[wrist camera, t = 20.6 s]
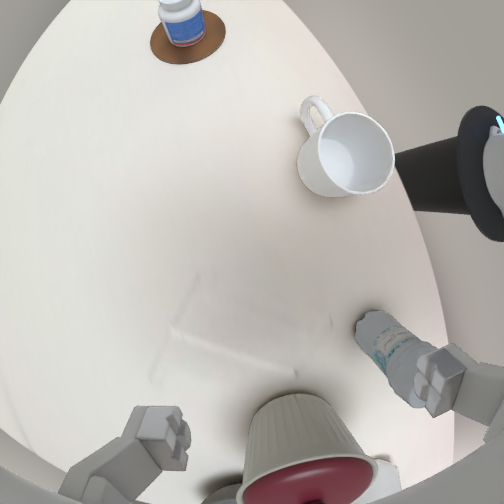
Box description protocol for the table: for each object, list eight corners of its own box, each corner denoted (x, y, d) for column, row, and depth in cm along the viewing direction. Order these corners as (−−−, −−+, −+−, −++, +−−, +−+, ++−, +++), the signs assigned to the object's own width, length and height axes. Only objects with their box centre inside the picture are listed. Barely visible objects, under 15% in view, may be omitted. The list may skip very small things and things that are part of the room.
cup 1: (316, 209, 34) (346, 210, 24) (268, 128, 32) (279, 98, 22) (366, 179, 34) (407, 172, 24) (320, 102, 32) (347, 70, 22)
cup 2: (330, 488, 44) (343, 530, 31) (352, 457, 42) (372, 504, 29) (376, 480, 45) (394, 517, 32) (401, 448, 43) (425, 487, 30)
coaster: (219, 5, 29) (219, 4, 28) (231, 54, 30) (231, 53, 30) (149, 21, 28) (148, 20, 28) (153, 73, 30) (152, 71, 30)
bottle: (384, 297, 37) (475, 360, 17) (392, 333, 38) (470, 403, 18) (344, 317, 37) (419, 401, 17) (355, 353, 38) (421, 440, 18)
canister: (350, 427, 41) (391, 512, 20) (259, 459, 41) (267, 549, 20) (329, 357, 38) (389, 461, 17) (217, 397, 38) (207, 512, 17)
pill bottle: (213, 33, 29) (208, -9, 20) (183, 53, 30) (169, 14, 20) (190, 16, 28) (180, -24, 19) (161, 36, 29) (144, -2, 19)
